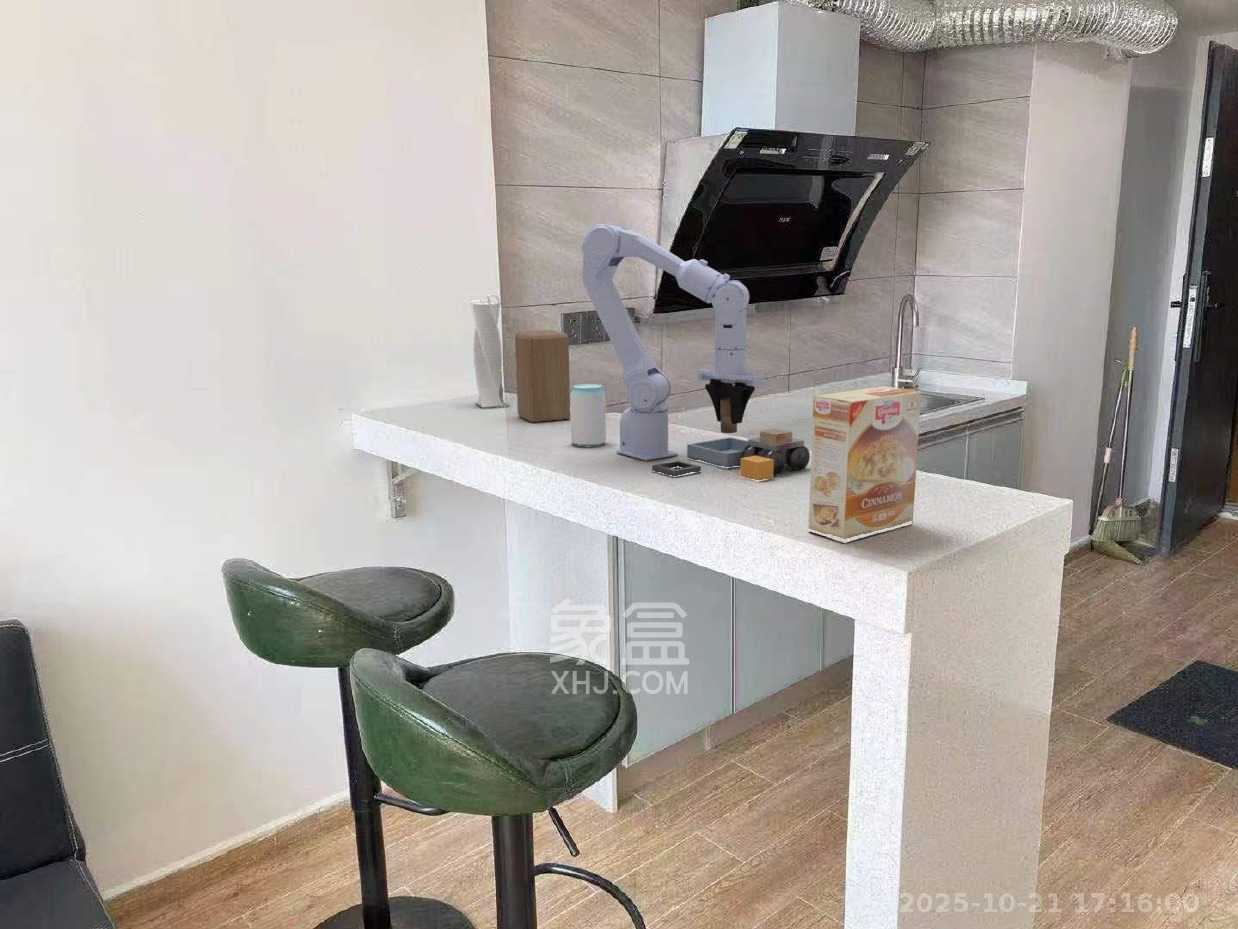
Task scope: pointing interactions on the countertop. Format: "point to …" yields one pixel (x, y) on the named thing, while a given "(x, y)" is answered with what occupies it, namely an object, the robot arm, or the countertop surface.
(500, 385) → the skyscraper
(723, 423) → the pin
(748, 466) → the block
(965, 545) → the countertop surface
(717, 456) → the tray
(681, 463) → the socket ring
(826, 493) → the coffeecake box
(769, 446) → the trolley
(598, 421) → the can
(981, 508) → the countertop surface
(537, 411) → the block
